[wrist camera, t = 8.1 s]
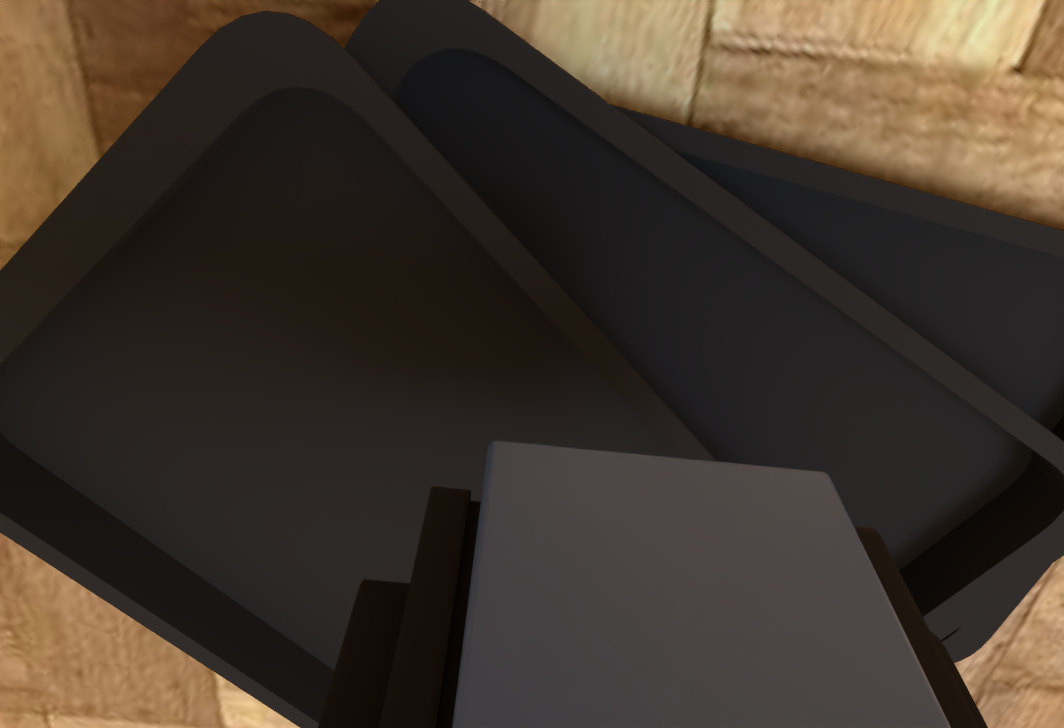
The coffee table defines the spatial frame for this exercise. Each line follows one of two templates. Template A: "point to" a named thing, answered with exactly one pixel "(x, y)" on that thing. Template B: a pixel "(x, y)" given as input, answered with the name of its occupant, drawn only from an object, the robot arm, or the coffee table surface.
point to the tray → (492, 335)
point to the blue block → (676, 600)
